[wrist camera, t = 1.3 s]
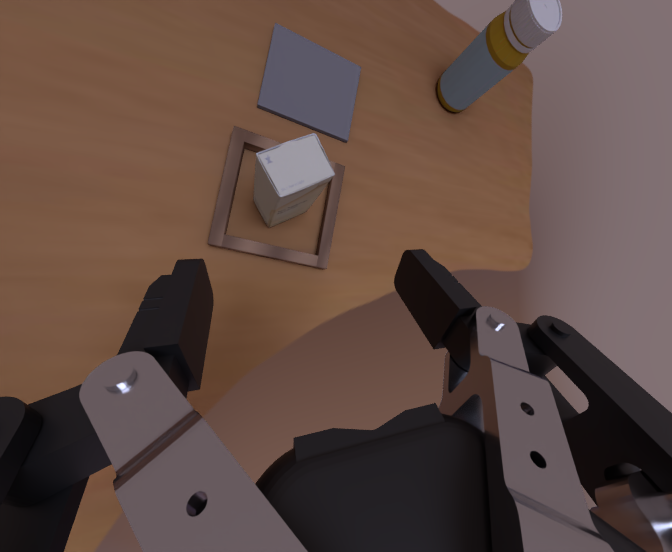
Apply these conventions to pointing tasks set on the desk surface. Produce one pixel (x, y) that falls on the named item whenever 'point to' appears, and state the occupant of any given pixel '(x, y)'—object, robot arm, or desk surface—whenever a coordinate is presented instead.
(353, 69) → the charcoal mat
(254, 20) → the desk surface
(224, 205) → the frame
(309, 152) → the skincare box
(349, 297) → the desk surface
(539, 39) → the bottle
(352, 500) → the robot arm
